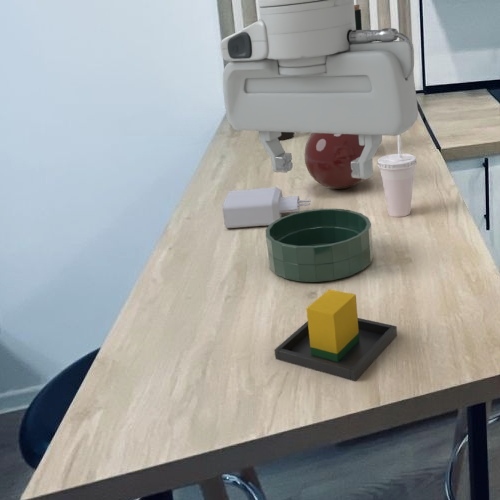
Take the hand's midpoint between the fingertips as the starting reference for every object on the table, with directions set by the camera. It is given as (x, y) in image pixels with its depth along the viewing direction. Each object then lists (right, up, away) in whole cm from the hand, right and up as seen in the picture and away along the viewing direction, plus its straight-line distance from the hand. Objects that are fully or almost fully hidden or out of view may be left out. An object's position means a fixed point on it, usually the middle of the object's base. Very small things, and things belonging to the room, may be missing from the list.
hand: (321, 174), depth 67 cm
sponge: (+2, -19, +8) cm, 21 cm away
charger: (-4, -2, +52) cm, 52 cm away
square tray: (+3, -19, +8) cm, 21 cm away
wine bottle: (+25, +30, +119) cm, 125 cm away
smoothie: (+18, -2, +46) cm, 49 cm away
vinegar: (+1, +22, +109) cm, 111 cm away
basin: (+3, -10, +31) cm, 32 cm away
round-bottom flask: (+11, +4, +63) cm, 64 cm away
